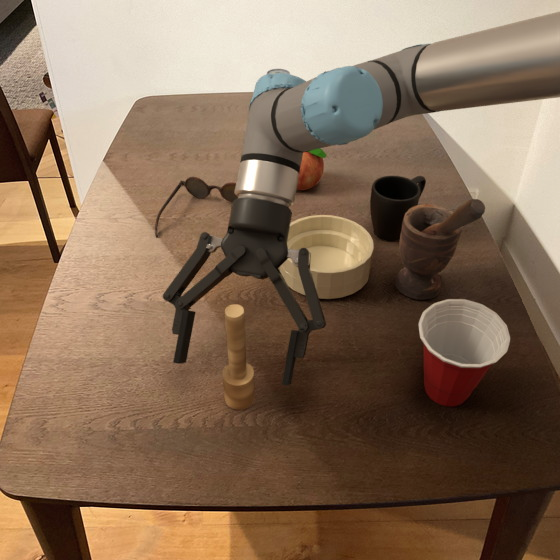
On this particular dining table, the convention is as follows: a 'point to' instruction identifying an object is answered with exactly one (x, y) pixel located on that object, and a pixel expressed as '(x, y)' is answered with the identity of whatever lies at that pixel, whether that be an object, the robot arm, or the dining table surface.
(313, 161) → the fruit
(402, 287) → the mortar and pestle
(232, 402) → the muddler
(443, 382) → the plastic cup
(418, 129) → the dining table surface
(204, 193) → the eyeglasses
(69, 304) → the dining table surface
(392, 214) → the mug
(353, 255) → the bowl
